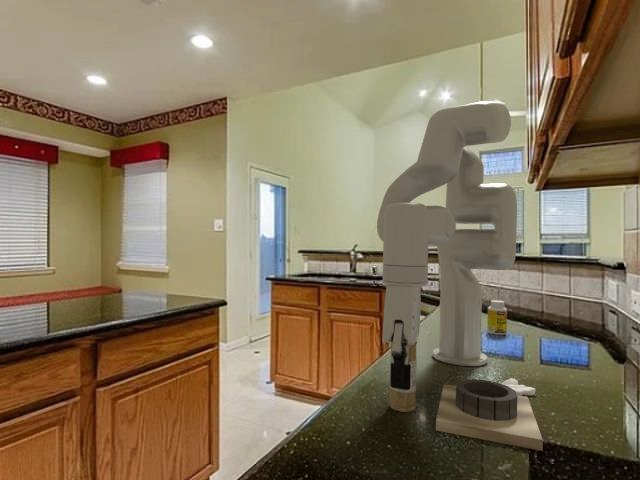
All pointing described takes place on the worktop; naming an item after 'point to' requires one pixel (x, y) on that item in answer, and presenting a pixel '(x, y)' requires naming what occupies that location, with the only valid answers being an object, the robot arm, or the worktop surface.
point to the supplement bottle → (497, 318)
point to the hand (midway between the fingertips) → (402, 381)
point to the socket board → (488, 414)
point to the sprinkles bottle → (401, 397)
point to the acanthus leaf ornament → (519, 387)
